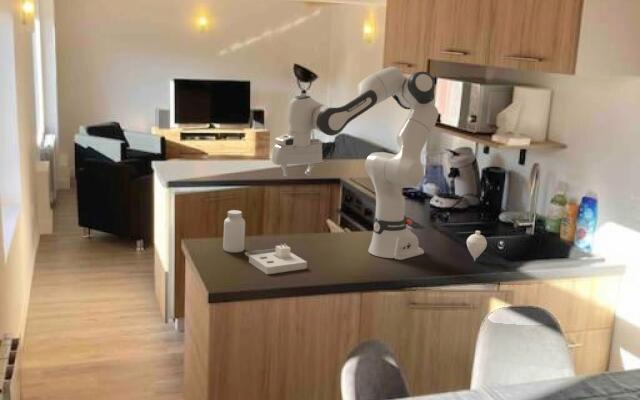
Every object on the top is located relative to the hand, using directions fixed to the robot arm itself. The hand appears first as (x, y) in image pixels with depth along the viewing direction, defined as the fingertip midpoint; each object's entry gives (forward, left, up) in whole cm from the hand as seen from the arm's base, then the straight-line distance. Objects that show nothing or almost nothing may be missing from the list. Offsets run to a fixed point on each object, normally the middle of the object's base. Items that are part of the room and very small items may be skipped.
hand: (296, 175), depth 256 cm
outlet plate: (+15, +15, -29) cm, 36 cm away
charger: (+12, +13, -29) cm, 34 cm away
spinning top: (-59, +39, -29) cm, 77 cm away
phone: (+14, +3, -30) cm, 33 cm away
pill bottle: (+22, -7, -29) cm, 37 cm away
